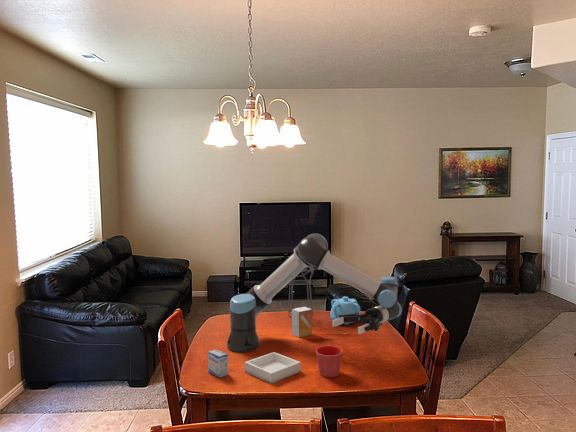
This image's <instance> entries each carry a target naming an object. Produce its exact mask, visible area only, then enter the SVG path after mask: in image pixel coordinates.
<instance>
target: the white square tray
mask: <svg viewBox="0 0 576 432" xmlns="http://www.w3.org/2000/svg"><path fill="white" fill-rule="evenodd" d="M301 367H302V366H301V361H299V360H296V359H293V358H291V357H289V356H285V355H283V354H280V353H278V352H275V351H273V352H270V353H267V354H264V355H261V356H259V357H255V358H252V359H250V360H247V361H245V362H244V372H245V373H247V374H249V375H252V376H254V377H256V378H258V379H260V380H262V381H264V382H265V383H266V382H267V383H269V384H274V383H276V382H278V381H281V380H283V379H286V378H289V377H290V376H293V375H295V374H298V373H301V369H302V368H301Z"/></svg>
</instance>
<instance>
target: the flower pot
mask: <svg viewBox="0 0 576 432" xmlns="http://www.w3.org/2000/svg"><path fill="white" fill-rule="evenodd" d="M315 355H316V360H317V367H318V372H319V375H320V376H322V377H323V378H335V377H336V378H337V376H338V375H340V370H341V364H342V357H343V349H342V348H341V347H338V346H336V345H323V346H322V345H321V346H319V347H317V348H315Z"/></svg>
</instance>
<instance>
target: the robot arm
mask: <svg viewBox="0 0 576 432" xmlns="http://www.w3.org/2000/svg"><path fill="white" fill-rule="evenodd" d="M328 248H329V245H328V240H327V239H326V238H325V237H324V236H323V235H321V234H320V233H310V234H308V235H307V236H305V237H304V238H303V239H301V241H300V242H299V243H298V244H297V245H296V246H295V247H294V248H293V253H292V254H291V255H290V256H289V257H288V258H287V259H286V260H285V261H284V262H283V263H281V264H280V266H278V267H277V269H275V271H273V272H272V273H271V274H270V275H269V276H268V277H267V278H266V279H264V281H263V282H262V283H260V284H255V285H254V286H253V287H251V288H250V289H249V290H248V292H247V293H240V294H236V295H234V296H233V297H231V299H230V301H229V302H230V304H229V317H230V332H229V334H228V338H227V343H226V348H227V349H228V350H229V351H232V352H237V353H245V352H246V353H247V352H252V351H255V350H257V349H259V348H260V345H261V343H260V338H259V335H258V333H257V328H256V327H257V324H256V322H257V319H256V318H257V317H258V316H259V315H260V314H262V312H263V311H265V309H267V308H268V306H270V305H271V303H272V302H273V298H274V297H275V296H277V294H278V293H279V292H280V291H281V290H282V289H284V288H285V287H286V286H287V285H289V284H290V281H291V280H293V279H294V277H295V276H297V275H298V276H299V274H300V273H302V272H301V271H303V270H304V269H306V268H307V267H308V268H309V267H311V266H313V268H314V269H315V270H316V269H317V270H319V271H320V270H323V271H325V272H327V273H328V274H330V275H331V276H333V277H335V278H337V279H339V280H340V281H342V282H344V283H346V284H348V285H349V286H350V287H352V288H354V289H356V290H357V291H359V292H361V293H363V294H365V295H366V296H368V297H370V298H371V299H373V300H375V301H376V302H378V306H377V305H376V306H375V307H372V308H368V309H367V310H366V311H365V313H361V314H360V315H359V313H354V314H345V315H339V318H338V319H335V320H332V319H331V320H332V321H331V323H332V325H331V326H332V327H338V326H340V325H343V323H344V322H354V323H357V324H363V325H361V326H357V334H358V335H361V334H363V333H366V332H369V331H374V332H377V331H378V330H379V329H380V327H381V326H382V325H383V323H386V322H389V321H391V320H392V321H393V320H395V319H396V318H398V317H400V316H401V315H402V311H403V308H402V306H401V303H399V302H398V286H399V285H398V278H397V277H394V276H382V277H381V278H380V281H378V280H376V279H375V278H374V277H372V276H370V275H368V274H367V273H364V272H363V271H361V270H359V269H357V268H356V267H354V266H352V265H350V264H349V263H347V262H345V261H343V260H341V259H340V258H338V257H336V256H335V255H333V254H331V252H330V250H329V249H328ZM291 282H292V281H291ZM359 318H360V320H359Z"/></svg>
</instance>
